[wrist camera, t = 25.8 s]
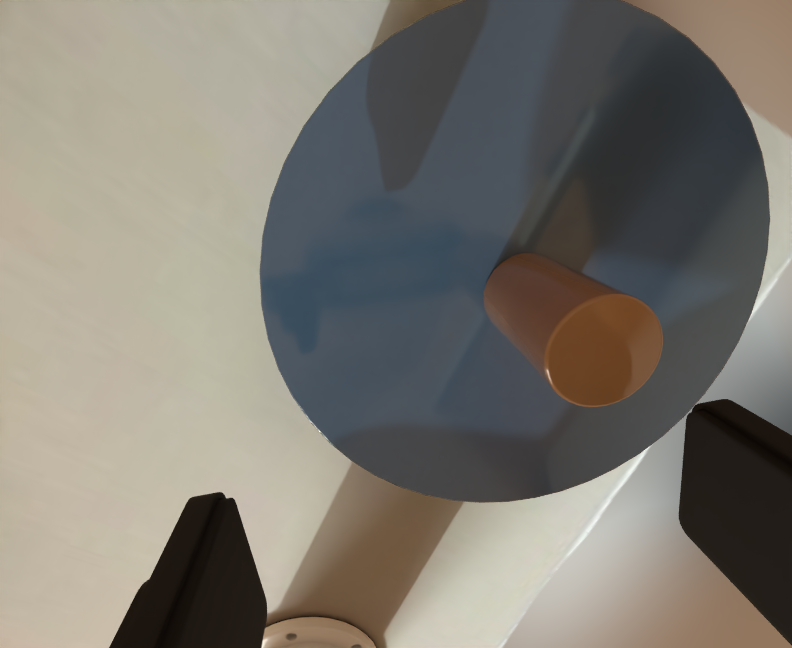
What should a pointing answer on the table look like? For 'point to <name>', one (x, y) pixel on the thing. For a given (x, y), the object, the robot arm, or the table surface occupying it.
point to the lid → (514, 246)
